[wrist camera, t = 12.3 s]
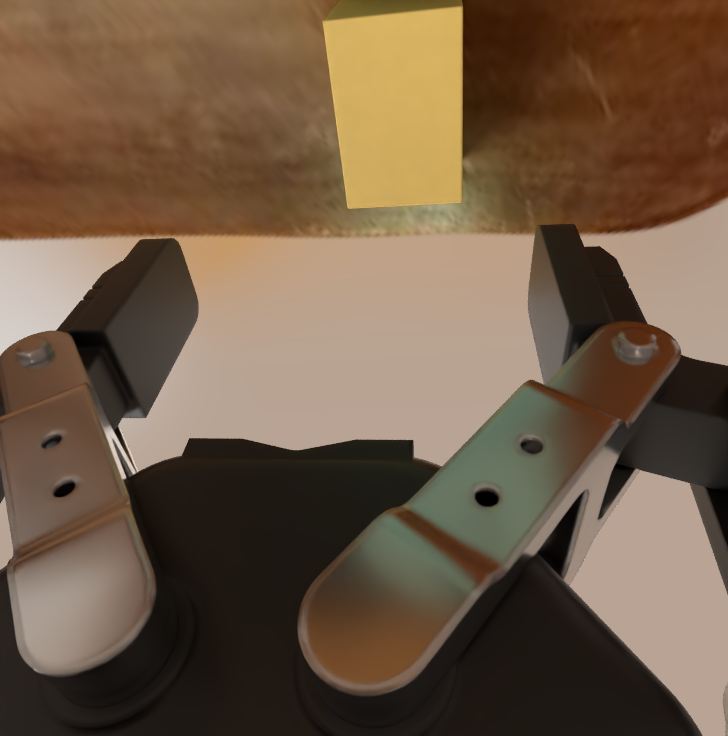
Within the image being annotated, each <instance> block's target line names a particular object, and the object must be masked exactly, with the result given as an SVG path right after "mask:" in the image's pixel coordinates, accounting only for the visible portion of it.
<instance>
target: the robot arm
mask: <svg viewBox="0 0 728 736" xmlns="http://www.w3.org/2000/svg"><path fill="white" fill-rule="evenodd" d="M83 299H84V300H81V301H80V302H79V303H78V305H77V306H76V307H75V308H74V309H73V311H72V312H71V313H70V314H69V316H68V317H67V318H66V319H65V321H64V322H63V323H62V324H61V325H60V327H59V328H58V329H57V330H56V331H46V332H41V333H37V334H33V335H30V336H28V337H26V338H23V339H21V340H19V341H17V342H16V343H14V344H13V345H11V346H10V347H9V348H7V350H5V351H4V352H3V353H2V354H1V356H0V503H1V501H2V500H3V498H4V496H5V500H6V506H7V512H8V519H9V524H10V531H11V537H12V544H13V552H14V553H13V557H12V559H10V560H9V562H8V564H7V566H5V567H4V568H3V569H1V570H0V736H702V734H701V732H700V731H699V729H698V727H697V726H696V724H695V723H694V721H693V719H692V718H691V716H690V715H689V714H688V712H687V711H686V710H685V708H684V707H683V706H682V704H681V703H680V702H679V701H678V699H677V698H676V697H675V696H674V695H673V694H672V693H671V692H670V691H669V689H668V688H667V687H666V686H665V685H664V684H663V683H662V682H661V681H660V680H659V679H658V678H657V677H656V676H655V675H654V674H653V673H652V672H651V671H650V670H649V669H648V668H647V666H645V664H644V663H643V662H642V661H641V660H640V659H639V658H638V657H637V656H636V655H635V654H634V653H633V652H632V651H631V650H630V649H629V648H628V647H627V646H626V645H625V644H624V643H623V642H622V640H620V639H619V638H618V636H617V635H616V634H615V633H614V632H613V631H612V630H611V629H610V628H609V627H608V626H607V625H606V624H605V623H604V622H603V621H602V620H601V619H600V618H599V617H598V616H597V614H596V613H595V612H594V611H593V610H592V609H591V608H590V607H589V606H588V605H587V604H586V603H585V602H584V601H583V600H582V599H581V598H580V597H579V596H578V595H577V594H576V593H575V592H574V591H573V590H572V588H570V586H569V585H570V583H571V582H572V580H573V579H574V577H575V575H576V574H577V572H578V570H579V568H580V567H581V565H582V563H583V561H584V559H585V557H586V555H587V552H588V550H589V548H590V546H591V544H592V542H593V540H594V538H595V537H596V535H597V533H598V532H599V530H600V529H601V528H602V526H603V525H604V523H605V522H606V520H607V519H608V517H609V516H610V514H611V513H612V511H613V510H614V508H615V507H616V505H617V504H618V502H619V501H620V499H621V498H622V496H623V495H624V494H625V492H626V491H627V489H628V487H629V486H630V484H631V483H632V482H633V480H634V479H635V477H636V476H637V474H638V473H639V471H640V470H642V471H646V472H650V473H654V474H658V475H661V476H665V477H669V478H673V479H677V480H681V481H685V482H688V483H690V486H691V489H692V491H693V494H694V497H695V500H696V503H697V506H698V509H699V512H700V515H701V518H702V521H703V524H704V526H705V529H706V532H707V535H708V538H709V541H710V544H711V547H712V549H713V553H714V556H715V559H716V561H717V565H718V567H719V570H720V573H721V576H722V579H723V582H724V585H725V588H726V591H727V594H728V366H725V365H721V364H715V363H710V362H705V361H699V360H695V359H692V358H689V357H685V356H683V355H681V349H680V346H679V344H678V343H677V342H676V340H675V339H674V338H673V337H672V336H671V335H670V334H668V333H667V332H665V331H663V330H661V329H660V328H657V327H655V326H652V325H649V324H647V322H646V320H645V318H644V316H643V314H642V311H641V309H640V307H639V305H638V303H637V301H636V299H635V297H634V295H633V293H632V291H631V289H630V288H629V284H628V282H627V280H626V278H625V276H623V272H622V270H621V268H620V265H619V264H618V261H617V259H616V258H614V257H613V256H612V255H610V254H609V253H608V252H607V251H605V250H604V249H602V248H601V247H600V246H598V247H584V245H583V243H582V240H581V238H580V235H579V233H578V230H577V228H576V226H575V224H559V225H538V226H537V228H536V232H535V239H534V247H533V255H532V264H531V273H530V281H529V291H528V311H529V318H530V323H531V327H532V331H533V336H534V341H535V345H536V350H537V354H538V359H539V363H540V368H541V373H542V377H543V381H544V385H543V384H541V383H539V382H536V381H534V380H529V381H527V382H525V383H524V384H523V385H522V386H520V388H519V389H518V390H517V391H516V392H515V393H514V394H513V395H512V396H511V397H510V398H509V399H508V400H507V401H506V402H505V403H504V404H503V405H502V406H501V407H500V408H499V409H498V410H497V411H496V412H495V413H494V414H493V415H492V416H491V417H490V418H489V419H488V420H487V421H486V422H485V423H484V425H483V426H482V427H481V428H480V429H479V430H478V431H477V432H476V433H475V434H474V435H473V436H472V437H471V438H470V439H469V440H468V441H467V442H466V443H465V444H464V445H463V446H462V447H461V448H460V449H459V450H458V451H457V452H456V453H455V454H454V455H453V456H452V457H451V458H450V459H449V460H448V461H447V462H446V463H445V465H444V466H442V467H441V466H439V465H437V464H434V463H431V462H429V461H426V460H422V459H418V458H414V446H413V440H352V441H347V442H342V443H336V444H331V445H326V446H320V447H315V448H310V449H304V450H298V451H297V450H289V449H284V448H280V447H276V446H271V445H267V444H262V443H258V442H254V441H249V440H245V439H207V438H205V439H204V438H202V439H201V438H190V439H189V440H188V443H187V445H186V447H185V450H184V452H183V454H182V456H178V457H174V458H171V459H168V460H164V461H161V462H159V463H156V464H154V465H151V466H149V467H147V468H145V469H143V470H141V471H138V469H137V466H136V464H135V462H134V459H133V457H132V454H131V452H130V450H129V447H128V445H127V442H126V440H125V438H124V435H123V433H122V431H121V429H120V427H119V426H118V425H119V423H120V421H121V419H122V418H146V417H147V415H148V413H149V411H150V409H151V407H152V405H153V403H154V402H155V400H156V398H157V396H158V394H159V392H160V390H161V388H162V386H163V384H164V382H165V380H166V379H167V377H168V375H169V373H170V371H171V369H172V367H173V365H174V363H175V361H176V359H177V358H178V356H179V354H180V352H181V350H182V348H183V346H184V344H185V342H186V340H187V339H188V337H189V335H190V333H191V331H192V329H193V327H194V325H195V323H196V321H197V318H198V299H197V295H196V292H195V288H194V285H193V283H192V279H191V276H190V273H189V270H188V267H187V264H186V261H185V258H184V255H183V252H182V249H181V247H180V245H179V243H178V242H177V241H176V240H175V239H173V238H166V239H142V240H140V241H139V242H138V243H137V244H136V245H135V246H134V248H133V249H132V250H131V252H130V253H129V254H128V255H127V257H126V258H125V259H124V260H123V261H121V262H119V263H118V264H116V265H115V266H113V267H112V268H110V269H109V270H107V271H106V272H104V273H103V274H102V275H101V277H100V278H99V279H98V280H97V281H96V283H95V284H94V285H93V286H92V289H90V290H89V291H88V292H87V294H86V295H85V296H84V297H83ZM723 706H724V714H725V721H726V735H725V736H728V683H727V685H726V687H725V691H724V695H723Z"/></svg>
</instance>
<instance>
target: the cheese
mask: <svg viewBox="0 0 728 736" xmlns="http://www.w3.org/2000/svg"><path fill="white" fill-rule="evenodd" d="M323 28H324V35H325V43H326V50H327V57H328V65H329V72H330V80H331V87H332V95H333V102H334V110H335V117H336V124H337V132H338V139H339V147H340V154H341V162H342V169H343V176H344V184H345V191H346V199H347V206H348V208H349V209H353V208H371V207H388V206H406V205H424V204H442V203H460V202H462V162H463V3H462V0H339V1H338V3H337V4H336V5H335V6H334V8H333V9H332V10H331V11H330V13H329V14H328V15H327V16H326V18H325V19H324V20H323Z"/></svg>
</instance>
